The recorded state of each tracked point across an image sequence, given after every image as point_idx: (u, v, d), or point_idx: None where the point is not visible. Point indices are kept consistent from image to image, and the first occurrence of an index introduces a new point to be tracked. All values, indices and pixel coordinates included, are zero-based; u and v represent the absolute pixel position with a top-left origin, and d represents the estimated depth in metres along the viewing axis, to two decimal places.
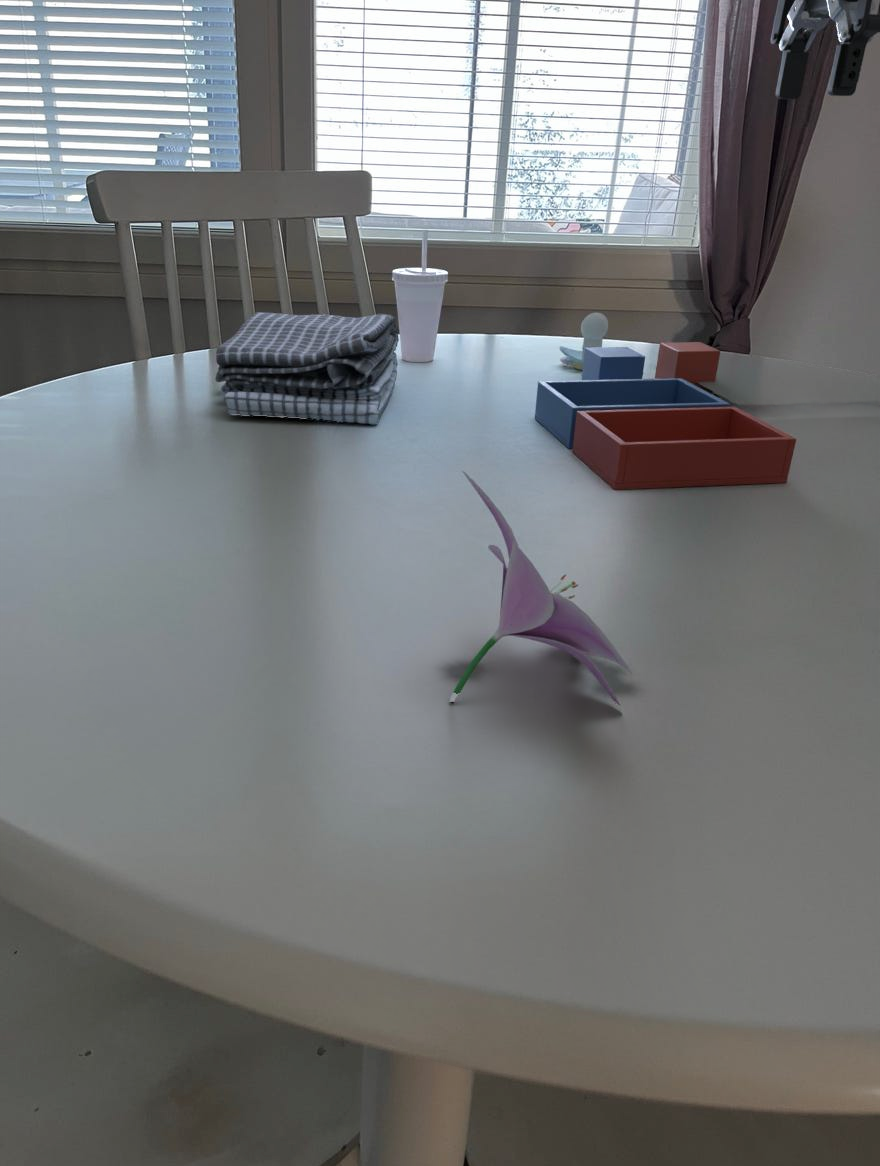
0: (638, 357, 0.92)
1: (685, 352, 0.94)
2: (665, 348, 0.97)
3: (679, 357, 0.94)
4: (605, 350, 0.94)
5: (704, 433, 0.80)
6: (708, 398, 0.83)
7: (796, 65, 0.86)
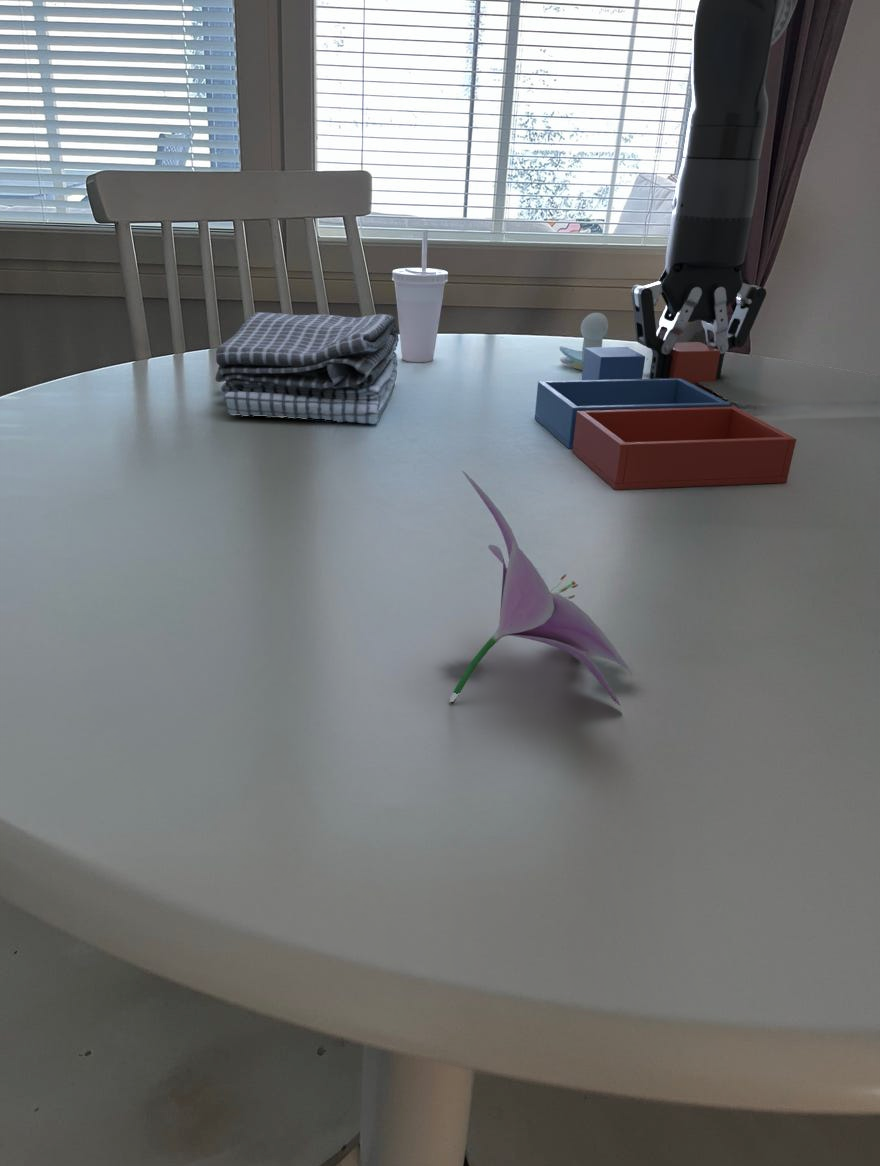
0: (638, 357, 0.92)
1: (685, 352, 0.94)
2: None
3: (679, 357, 0.94)
4: (605, 350, 0.94)
5: (704, 433, 0.80)
6: (708, 398, 0.83)
7: None
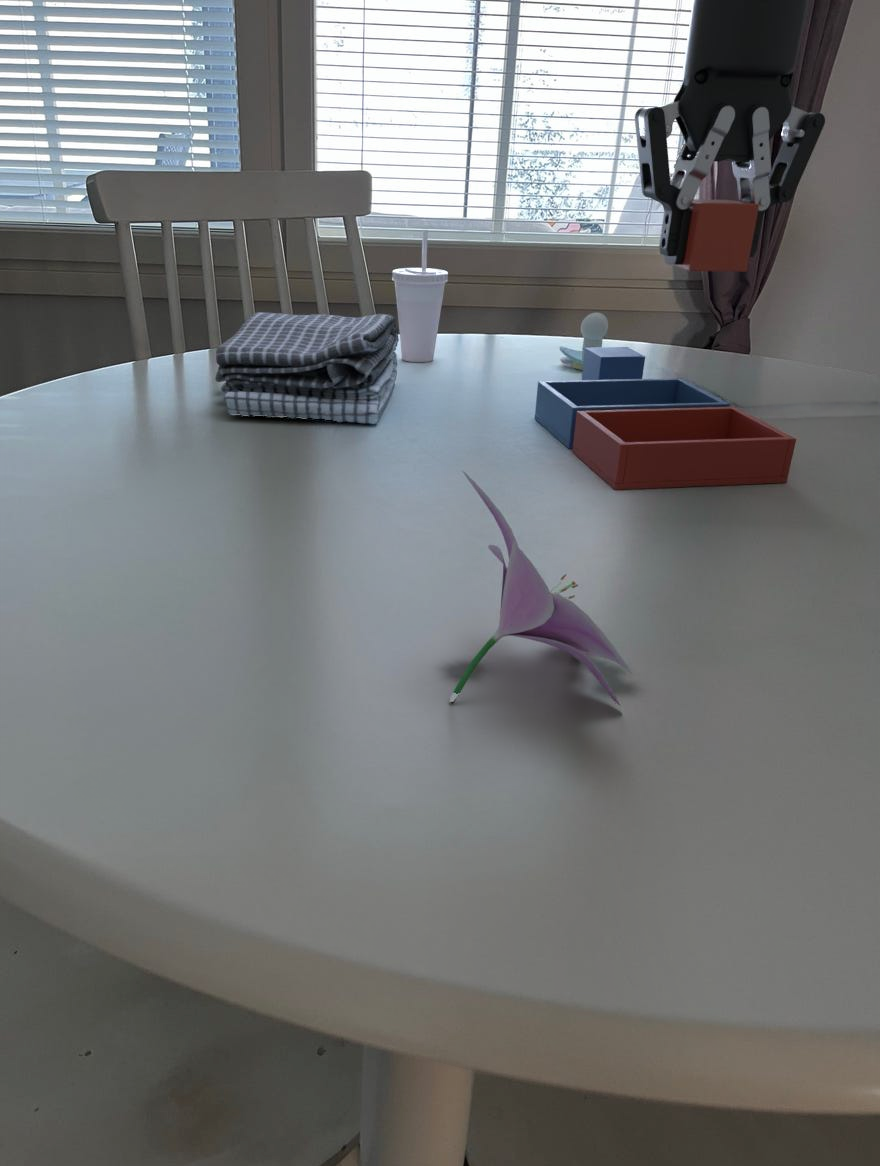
0: (638, 357, 0.92)
1: (710, 204, 0.67)
2: None
3: (701, 211, 0.67)
4: (605, 350, 0.94)
5: (704, 433, 0.80)
6: (708, 398, 0.83)
7: None
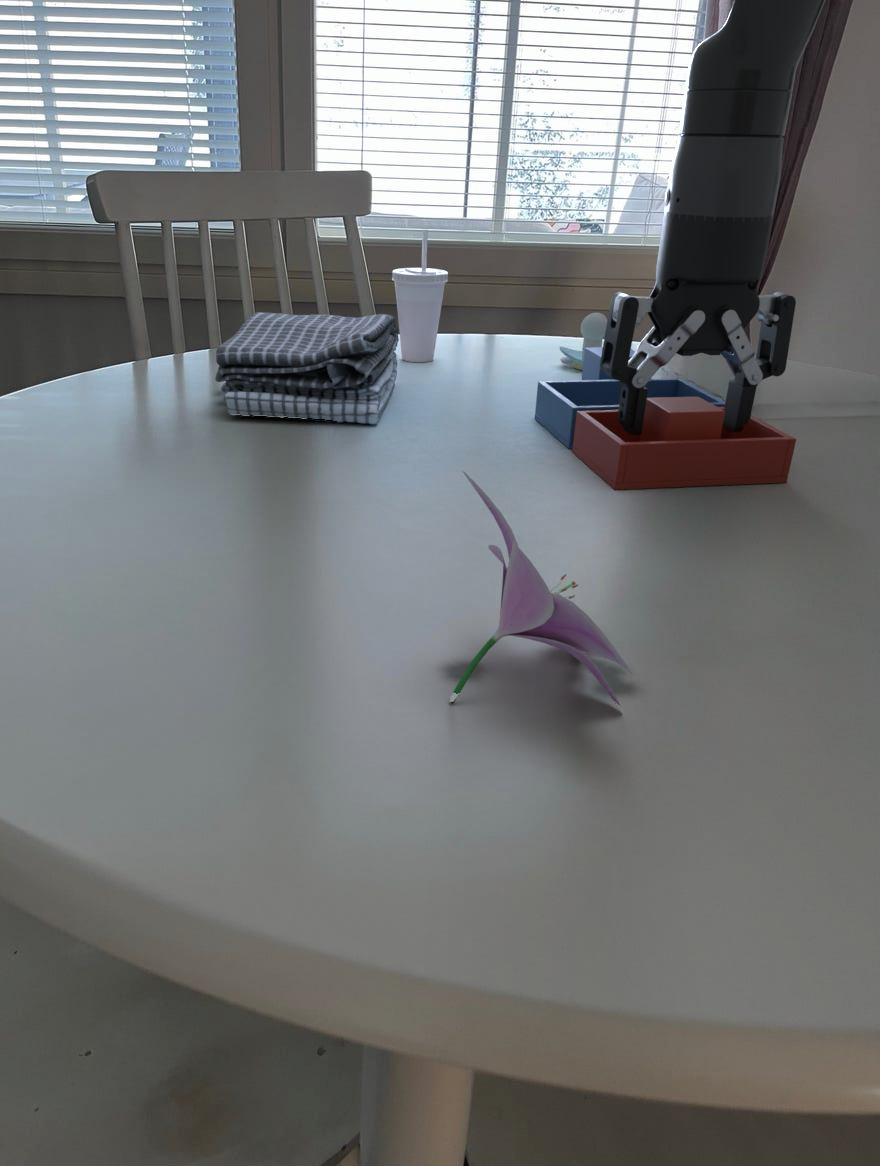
0: None
1: (678, 413, 0.71)
2: (652, 405, 0.74)
3: (670, 419, 0.71)
4: None
5: None
6: (708, 398, 0.83)
7: (734, 396, 0.74)
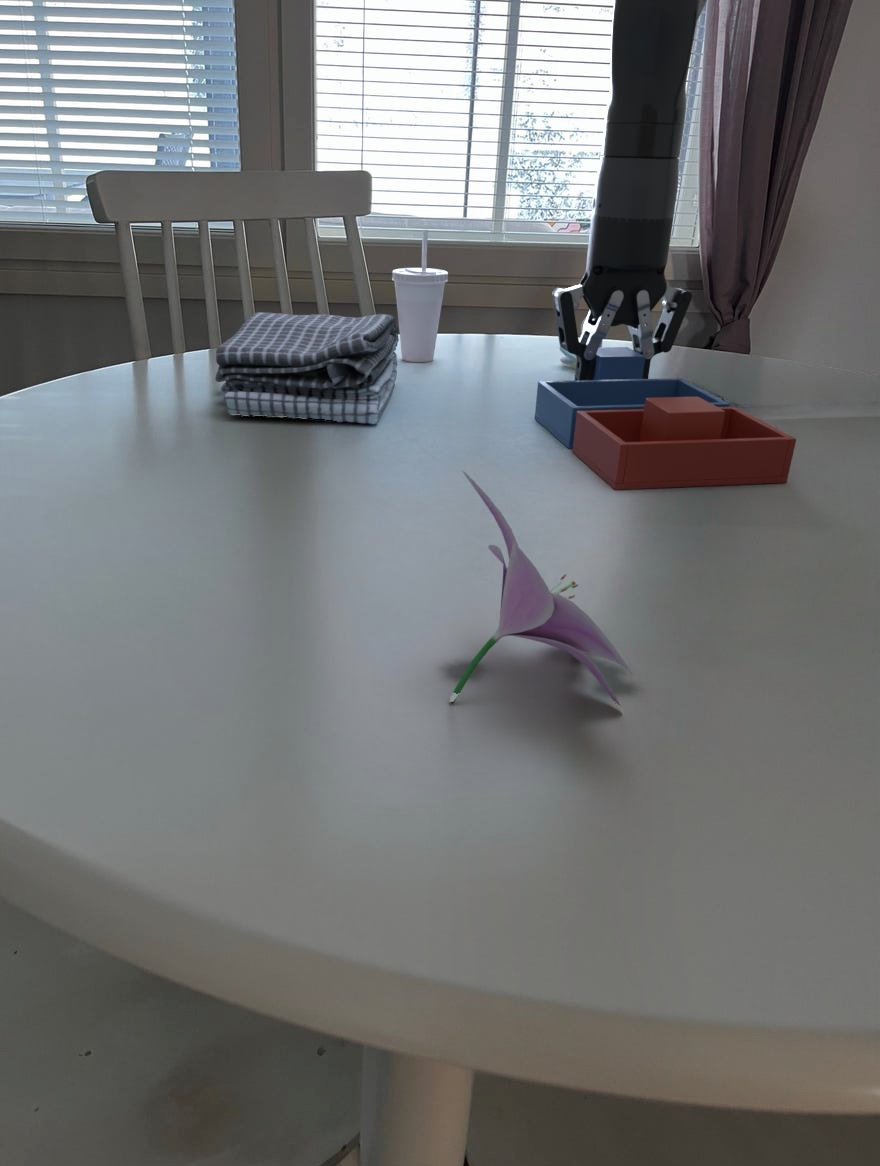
0: (638, 357, 0.92)
1: (678, 413, 0.71)
2: (652, 405, 0.74)
3: (670, 419, 0.71)
4: (605, 350, 0.94)
5: None
6: (708, 398, 0.83)
7: None
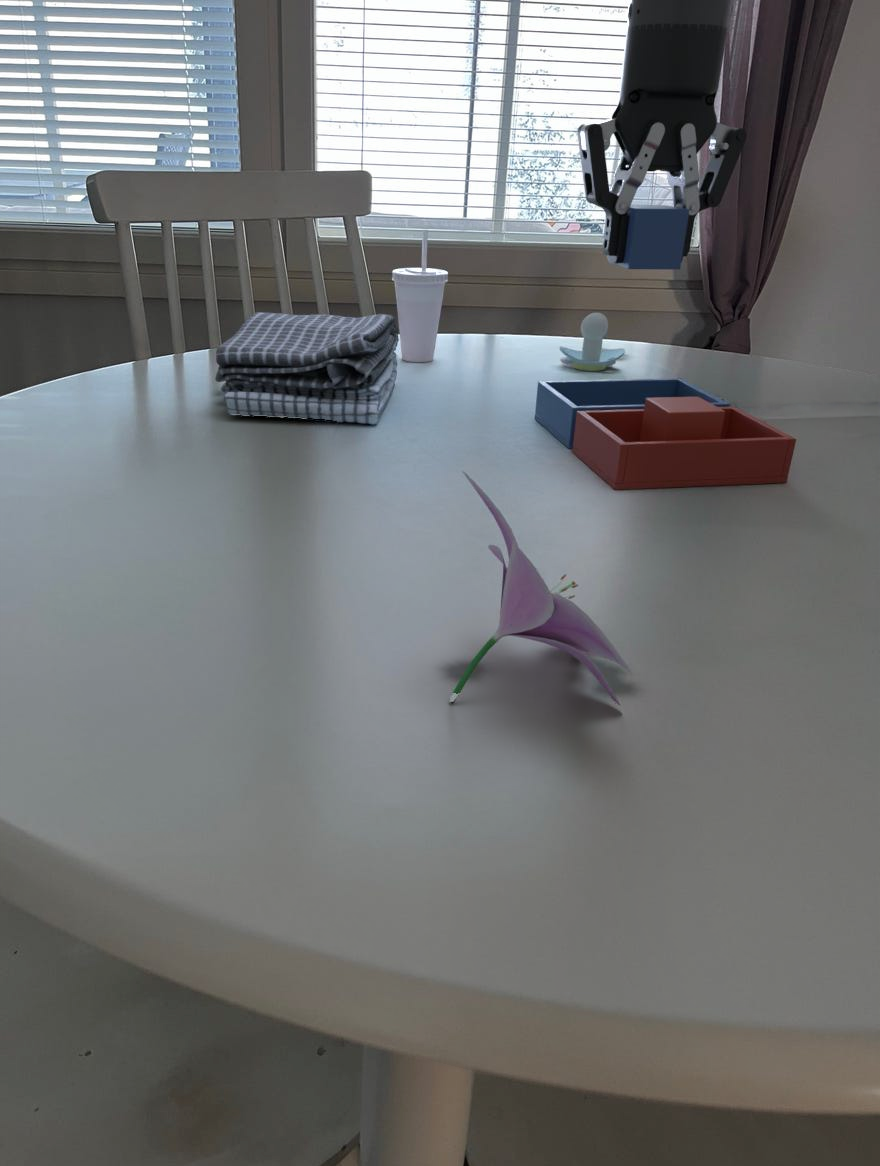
0: (681, 210, 0.76)
1: (678, 413, 0.71)
2: (652, 405, 0.74)
3: (670, 419, 0.71)
4: None
5: None
6: (708, 398, 0.83)
7: None
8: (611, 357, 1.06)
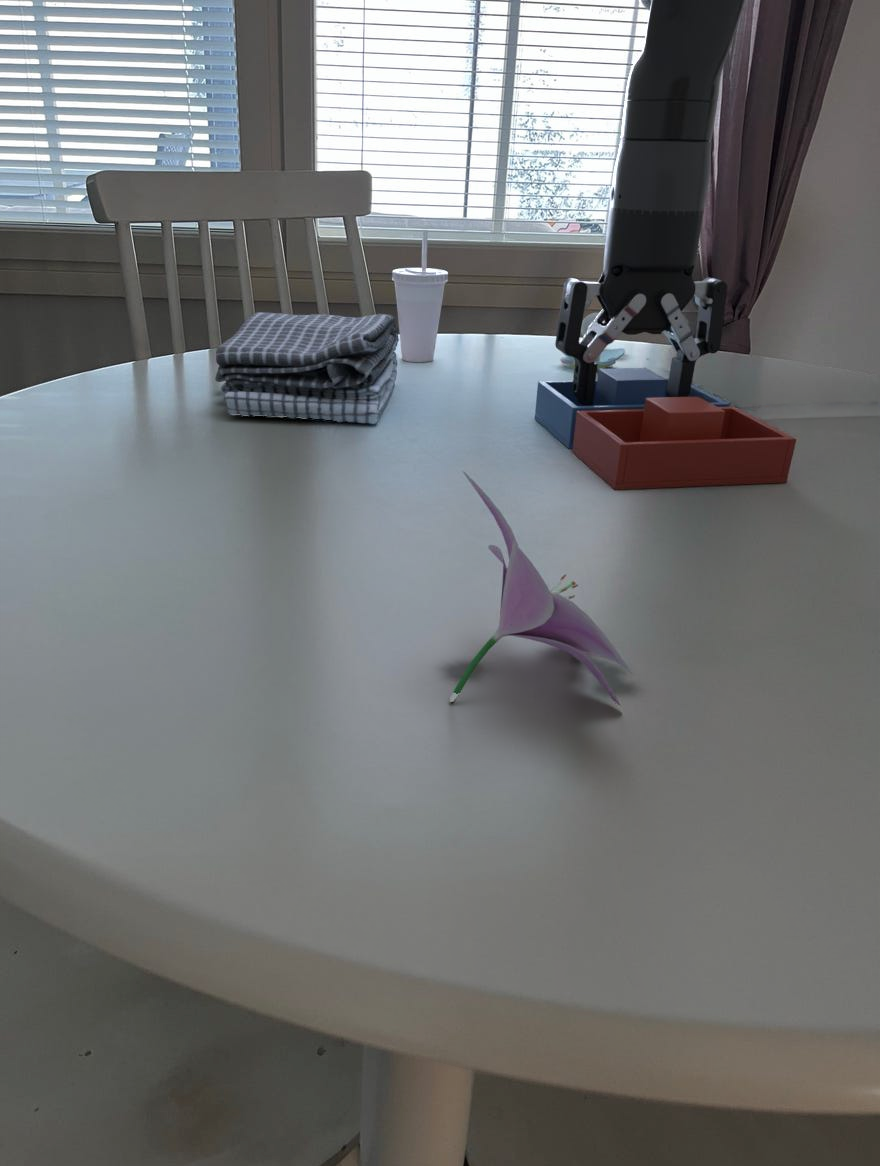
0: (659, 380, 0.81)
1: (678, 413, 0.71)
2: (652, 405, 0.74)
3: (670, 419, 0.71)
4: (621, 372, 0.83)
5: None
6: (708, 398, 0.83)
7: (675, 372, 0.83)
8: (611, 357, 1.06)
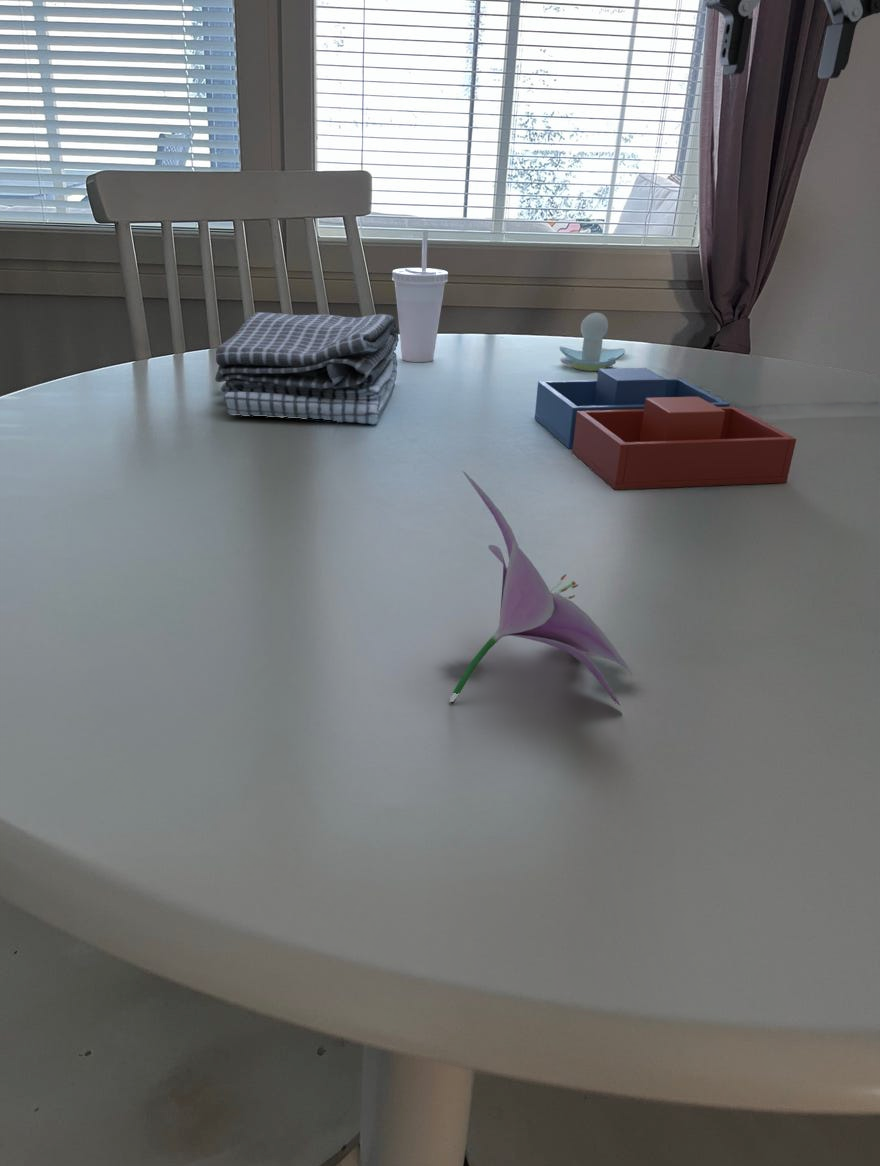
0: (659, 380, 0.81)
1: (678, 413, 0.71)
2: (652, 405, 0.74)
3: (670, 419, 0.71)
4: (621, 372, 0.83)
5: None
6: (708, 398, 0.83)
7: (832, 39, 0.76)
8: (611, 357, 1.06)
